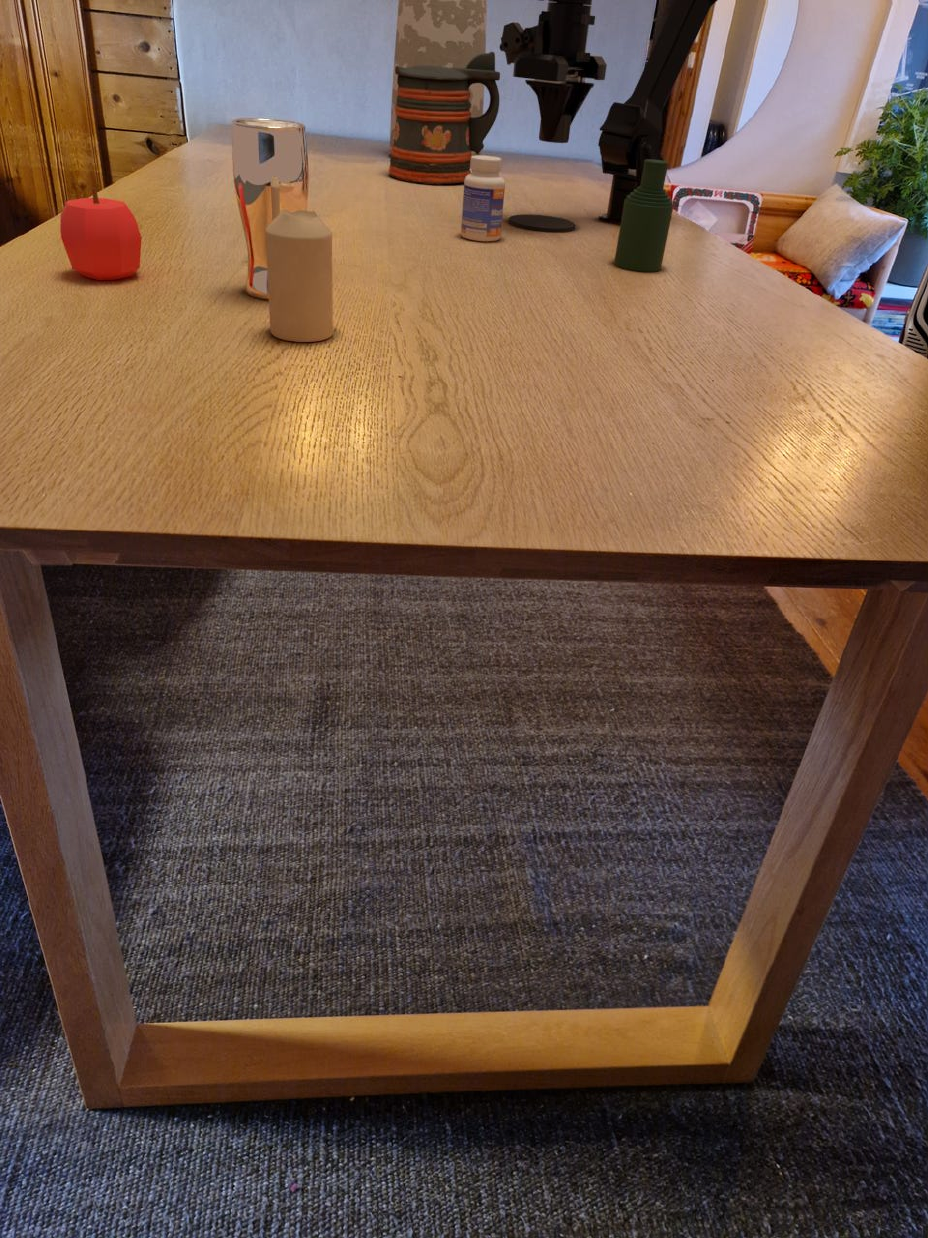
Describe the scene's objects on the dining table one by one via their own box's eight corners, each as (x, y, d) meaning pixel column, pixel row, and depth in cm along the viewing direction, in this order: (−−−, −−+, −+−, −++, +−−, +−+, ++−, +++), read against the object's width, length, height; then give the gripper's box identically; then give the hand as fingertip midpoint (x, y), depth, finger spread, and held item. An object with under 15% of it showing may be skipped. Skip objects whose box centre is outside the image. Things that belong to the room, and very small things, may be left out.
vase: (479, 169, 170) (499, -78, 149) (385, 161, 170) (391, -89, 148) (479, 156, 187) (497, -68, 165) (393, 148, 186) (400, -78, 165)
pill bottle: (496, 243, 115) (504, 161, 109) (456, 238, 115) (462, 157, 110) (503, 236, 119) (510, 157, 113) (464, 231, 120) (470, 152, 114)
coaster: (525, 214, 134) (526, 211, 134) (585, 225, 130) (585, 222, 130) (496, 223, 126) (497, 219, 126) (559, 235, 123) (559, 231, 123)
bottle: (623, 257, 114) (640, 155, 107) (666, 266, 112) (687, 162, 105) (607, 265, 109) (624, 159, 102) (652, 274, 107) (673, 166, 100)
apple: (125, 261, 92) (114, 179, 88) (163, 279, 88) (153, 193, 83) (50, 269, 88) (34, 182, 83) (86, 288, 83) (71, 197, 79)
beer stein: (478, 174, 165) (488, 49, 154) (503, 187, 154) (515, 54, 143) (381, 169, 160) (384, 40, 149) (399, 183, 149) (404, 44, 137)
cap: (562, 139, 124) (565, 113, 122) (572, 143, 121) (575, 116, 119) (535, 138, 123) (538, 111, 121) (544, 141, 120) (547, 114, 118)
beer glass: (252, 303, 83) (241, 126, 75) (233, 284, 88) (220, 116, 80) (321, 299, 86) (318, 128, 78) (298, 281, 91) (293, 119, 83)
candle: (305, 346, 74) (301, 221, 68) (257, 332, 76) (249, 209, 71) (345, 333, 78) (345, 213, 72) (298, 320, 80) (294, 202, 75)
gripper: (542, 3, 123) (529, 128, 131) (482, -5, 109) (472, 136, 118) (616, 9, 119) (597, 138, 128) (564, 1, 105) (547, 146, 114)
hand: (553, 139), depth 122 cm, fingers closed on cap, 4 cm apart
